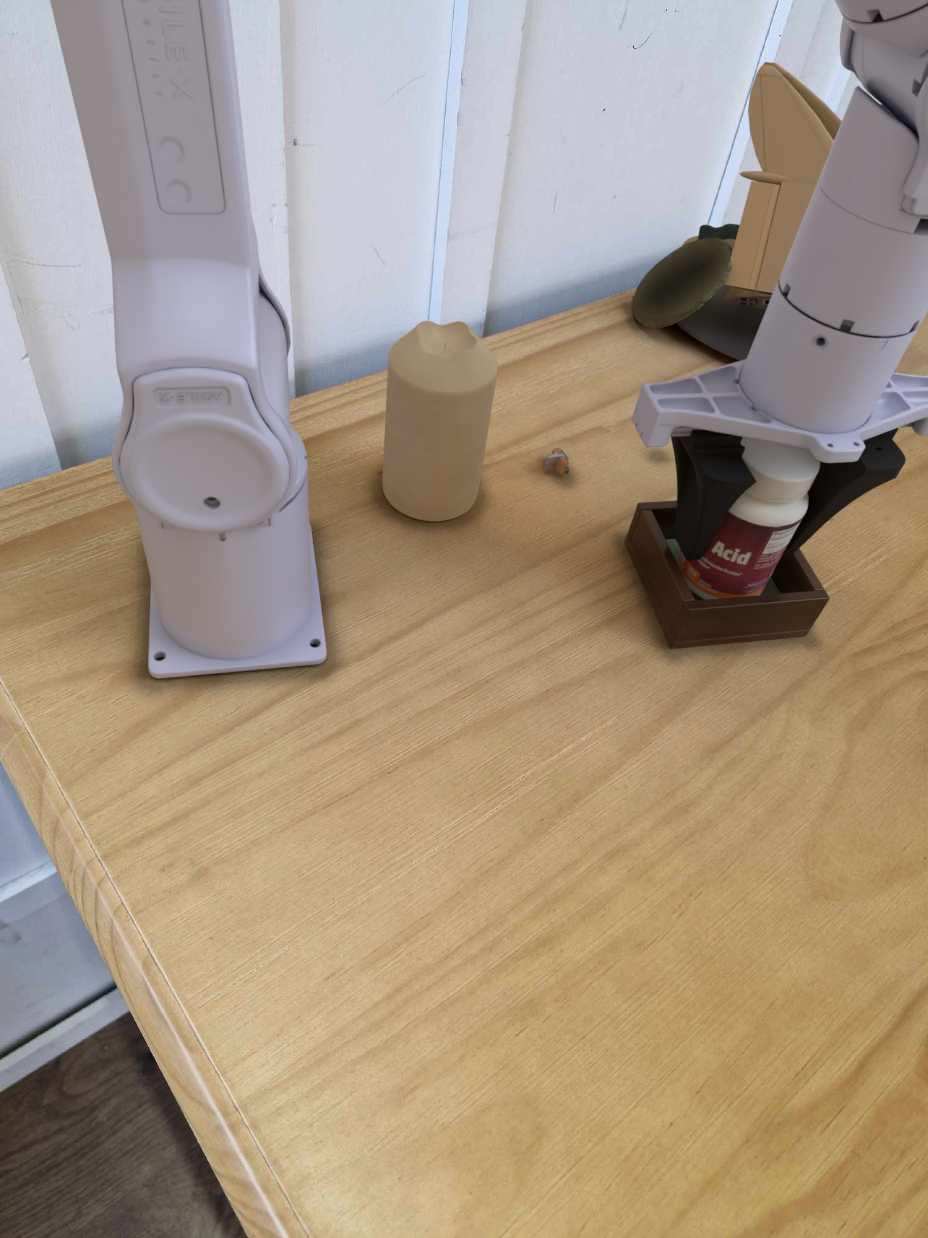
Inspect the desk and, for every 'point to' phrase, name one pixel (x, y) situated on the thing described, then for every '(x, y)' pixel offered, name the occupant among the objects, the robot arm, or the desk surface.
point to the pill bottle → (755, 523)
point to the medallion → (682, 282)
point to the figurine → (558, 461)
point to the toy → (766, 207)
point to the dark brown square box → (701, 622)
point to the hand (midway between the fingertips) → (733, 543)
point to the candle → (437, 420)
